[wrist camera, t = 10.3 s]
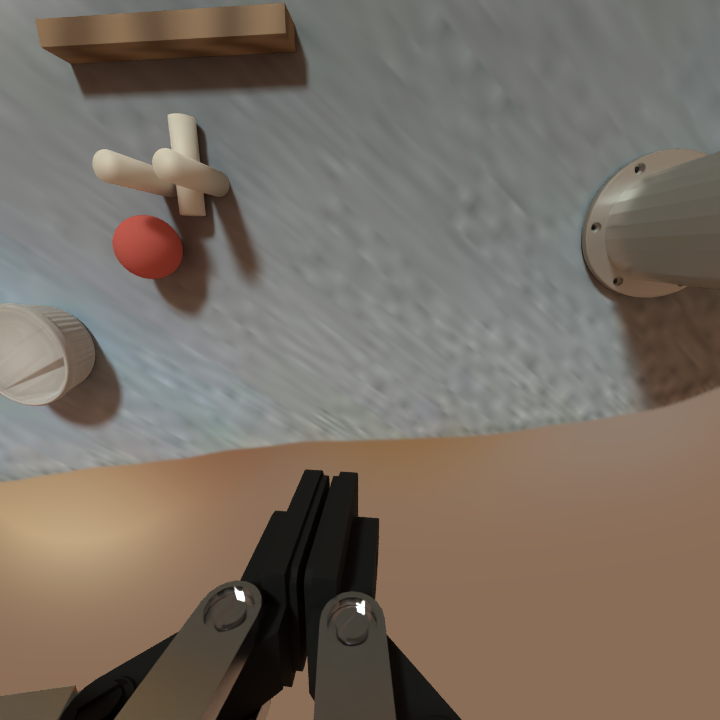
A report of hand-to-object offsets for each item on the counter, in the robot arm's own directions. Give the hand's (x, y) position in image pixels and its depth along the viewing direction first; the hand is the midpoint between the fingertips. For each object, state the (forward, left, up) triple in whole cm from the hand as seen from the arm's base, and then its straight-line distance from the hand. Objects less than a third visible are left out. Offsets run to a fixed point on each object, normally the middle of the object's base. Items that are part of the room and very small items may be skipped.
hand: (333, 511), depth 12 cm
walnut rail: (+19, -26, -29) cm, 43 cm away
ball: (+23, -8, -26) cm, 36 cm away
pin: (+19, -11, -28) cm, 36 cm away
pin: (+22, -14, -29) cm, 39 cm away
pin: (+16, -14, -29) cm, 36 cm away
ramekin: (+38, +3, -29) cm, 48 cm away
